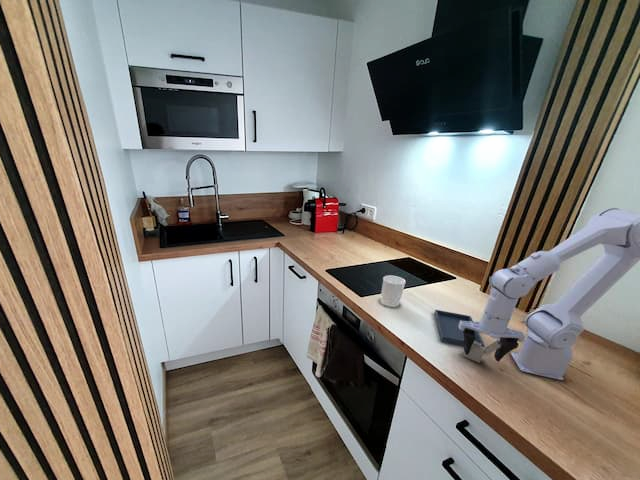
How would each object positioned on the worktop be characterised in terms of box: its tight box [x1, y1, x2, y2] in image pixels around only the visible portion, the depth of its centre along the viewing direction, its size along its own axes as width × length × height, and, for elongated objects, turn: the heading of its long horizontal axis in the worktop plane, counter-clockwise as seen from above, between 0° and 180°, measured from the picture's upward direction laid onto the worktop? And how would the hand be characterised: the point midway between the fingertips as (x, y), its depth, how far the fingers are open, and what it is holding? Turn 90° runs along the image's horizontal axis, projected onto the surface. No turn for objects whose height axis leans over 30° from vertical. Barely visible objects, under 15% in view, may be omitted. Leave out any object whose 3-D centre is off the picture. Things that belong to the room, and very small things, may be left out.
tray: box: [433, 309, 485, 348], centre depth 94 cm, size 11×17×2 cm, turn 160°
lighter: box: [462, 339, 502, 364], centre depth 80 cm, size 7×2×8 cm, turn 46°
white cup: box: [380, 274, 406, 308], centre depth 108 cm, size 8×8×10 cm
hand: (480, 355), depth 80 cm, fingers closed on lighter, 7 cm apart
